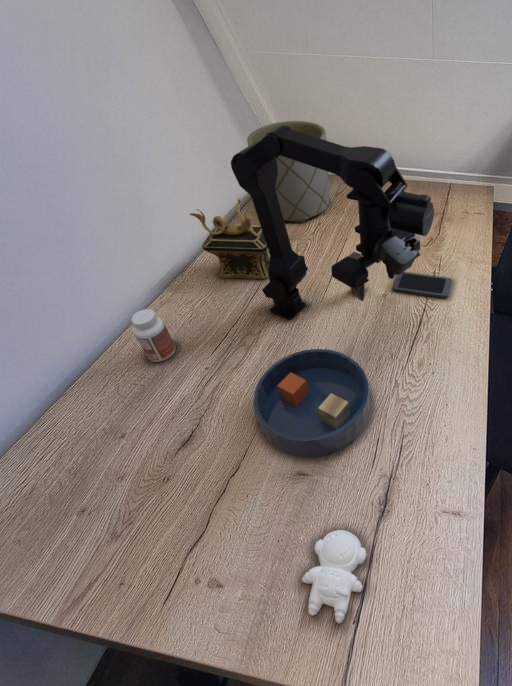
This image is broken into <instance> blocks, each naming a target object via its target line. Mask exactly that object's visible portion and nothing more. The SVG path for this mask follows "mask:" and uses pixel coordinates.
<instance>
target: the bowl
mask: <svg viewBox="0 0 512 686" xmlns="http://www.w3.org/2000/svg"><path fill="white" fill-rule="evenodd" d="M290 372H291V373H293V374H295V375H297V376H299V377H301V378H303V379H305V380H306V382H307V387H308V391H309V393H308V394H307V396H306V397H305V398H304V399H303V400H302V401H301V402H300V403H299V404H298V405H297V406H294V405H292V404H290V403H288V402H287V401H285V400H283V399H281V397H280V393H279V390H278V384H279V383H280V382H281V381H282V380H283V379H284V378H285V377H286V376H287V375H288V374H289V373H290ZM369 387H370V386H369V380H368V377H367V375H366V373H365V371H364V369H363V368H362V367H361V366H360V364H359V363H358V362H357V361H355V360H354V359H353V358H351V356H349V355H347V354H344V353H342V352H340V351H335V350H332V349H326V348H323V349H322V348H311V349H304V350H300V351H297V352H293V353H290V354H289V355H286V356H285V357H282V358H280V359H279V360H277V361H276V362H274V363H273V364H271V366H270V367H268V369H267V370H266V371H264V373H263V375H262V376H261V377H260V378H259V380H258V381H257V385H256V387H255V390H254V393H253V407H254V414H255V416H256V418H257V421H258V424H259V427H260V429H261V431H262V433H263V435H264V437H265V438H266V440H267V442H269V443H270V444H271V446H273V447H274V448H275V449H277V450H279V451H280V452H281V453H284V454H287V455H289V456H293V457H297V458H306V459H307V458H308V459H309V458H319V457H324V456H328V455H331V454H333V453H336V452H339V451H340V450H342V449H344V448H345V447H347V446H349V445H350V444H352V443H353V441H355V440H356V438H357V437H358V436H359V435H360V434H361V433H362V431H363V429H364V428H365V426H366V425H367V423H368V421H369V420H368V419H369V416H370V411H371V410H370V409H371V401H370V399H371V398H370V388H369ZM331 393H332V394H334V395H336V396H338V397H340V398H342V399H344V400H345V401H347V402H348V403H349V411H350V415H349V416H348V418H347V419H346V420H345V421H344V423H343V424H342V425H341V426H340V428H338V429H335V428H333V427H331V426H330V425H328V424H326V423H324V422H322V421H321V419H320V414H319V409H318V408H319V406H320V405H321V404H322V403H323V402H324V401H325V400H326V398H327V397H328V396H329V395H330V394H331Z"/></svg>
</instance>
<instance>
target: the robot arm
mask: <svg viewBox="0 0 512 686" xmlns="http://www.w3.org/2000/svg"><path fill="white" fill-rule="evenodd" d="M278 156H283V157H286V158H289V159H292V160H295V161H298V162H301V163H304V164H307V165H309V166H312V167H315V168H318V169H321V170H324V171H327V172H328V173H330V174H332V175H336V176H337V177H339V178H340V179H341V180H342V181H343V182H344V184H345V185H347V187H350V188H351V190H350V191H349V192H348V193H347V194H346V199H348V200H353V201H357V205H358V224H357V225H355V226H354V233H356V234H359V243H358V244H356V245H355V251H357V252H358V253H359V254H361V255H362V257H361V258H359V259H358V260H356V261H355V260H354V259H352V258H350V257H348V256H349V255H348V256H344V258H342V259H341V260H338V261H337V262H336V263H334V264H333V265H331V268H330V269H331V277H332V278H334V279H335V280H336V281H339V282H340V283H342V284H343V285H346V286H347V287H349V288H350V289H351V288H352V290H353V291H354V293H355V294H354V293H353V294H354V295H355V296H356V298H357V299H358V300H359V301H361V302H363V301H364V300H365V284H367V283H368V282H369V281H370V279H368V277H369V270H368V268H370V267H372V266H373V265H375V264H379V263H381V262H382V263H383V265H385V270H386V273H387V277H388V279H390V280H394V278H395V276H397V275H400V274H402V273H403V272H406V271H407V270H408V269H410V268H411V267H412V266H413V264H414V262H415V260H416V259H417V258H419V257H420V256H421V253H420V250H421V240H420V238H419V237H418V236H417V235H419V236H423V237H426V236H427V235H428V234H429V232H430V231H431V228H432V225H433V221H434V217H435V208H434V202H432V199H431V198H432V197H431V195H430V194H429V195H428V194H419V193H418V194H417V193H413V192H407V191H405V190H406V189H407V188H408V183H407V182H406V180H405V179H404V177H403V175H402V174H401V172H400V171H399V169H398V167H397V166H396V164H395V160H394V158H393V156H392V154H391V153H390V152H389V150H386V149H385V148H383V147H382V148H381V147H374V146H366V145H363V146H351V147H350V146H344V145H341V144H338V143H335V142H332V141H329V140H327V139H326V140H323V139H320V138H317V137H314V136H310V135H307V134H304V133H301V132H298V131H295V130H292V129H291V128H290V127H288V126H282V125H281V126H278V127H277V128H275V129H273V130H272V131H270V132H269V133H267V134H266V135H265V137H264V138H263V139H262V140H261V141H258V142H254V143H253V144H251V145H250V146H248V145H247V146H246V147H245V148H243V149H242V150H240V151H239V152H237V153H235V154H234V155H233V156H232V158H231V160H230V167H231V170H232V172H233V175H234V177H235V179H236V181H237V184H238V186H239V187H240V188H242V189H243V190H244V192H246V193H247V194H248V195H250V198H251V200H252V203H253V207H254V209H255V213H256V216H257V219H258V223H259V226H261V229H262V232H263V235H264V238H265V241H266V244H267V247H268V248H267V252H268V255H269V257H270V262H269V267H268V274H269V275H268V280H269V282H268V283H267V284H266V285H265V286H264V287H263V288H262V290H261V291H262V293H263V295H264V296H265V298H267V299H272V302H273V306H272V307H271V308H270V309H269V311H270V312H271V313H272V314H275V315H276V316H279V317H281V318H283V319H285V320H287V321H291V320H292V319H293V318H295V317H296V316H297V315H298V314H300V312H301V311H302V310H303V309H305V308H306V307H307V303H306V302H304V301H302V296H301V294H300V289H299V288H298V287H297V286H298V285H299V284H300V283H301V282H302V281H303V280H304V278H306V276H307V271H308V270H309V268H308V266H307V264H306V258H305V256H304V255H299V254H298V253H296V251H294V250H293V248H292V244H291V242H290V237H289V234H288V230H287V226H286V223H285V220H284V219H283V215H282V212H281V208H280V205H279V201H278V198H277V194H276V190H275V187H276V181H277V175H278V169H277V160H276V158H277V157H278ZM388 182H389V183H390V185H389V186H388V187H387V188H386V190H385V191H384V190H383V188H384V187H385V185H387V184H388Z"/></svg>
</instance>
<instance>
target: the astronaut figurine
mask: <svg viewBox="0 0 512 686" xmlns="http://www.w3.org/2000/svg"><path fill="white" fill-rule="evenodd" d="M314 553H315V555H317V559H318V561H319V565H317V566H314V567H312V568H309V569H308V571H306V572H305V573H304V575H303V576H302V578H301V581H302V582H303V584H307V585H312V586H311V589H310V594H309V598H308V606H307V607H308V608H307V609H308V610H307V611H308V614H309V615H310V616H316V615H317V614H318V612H319V611H320V610H321V608H322V607H323V605H326V606H328V607H333V612H334V618H335V622H336V623H337V624H343V622H344V621H345V617H346V616H347V613H348V609H349V604H350V601H351V596H352V595H351V594H352V592H354V593H361V592H362V591H363V589H364V587H363V585H362V582H361V580H359V579H358V577H357V576H356V575H354V574H353V572H354V571H355V570H356V569H357V568H358V566H359V565H362V564H364V562H365V561H366V558H367V550H366V549H365V547H363V546H362V543H361V541H360V540H359V538H358V537H357V536H356V535H355V534H354V533H351V532H350V531H347V530H344V529H337V530H332V531H331V532H329V533H327V534H326V535H325V536H324V537H323V539H322V538H319V539H318V540H317V541H316V542H315V545H314Z"/></svg>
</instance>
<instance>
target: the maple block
mask: <svg viewBox="0 0 512 686" xmlns="http://www.w3.org/2000/svg"><path fill="white" fill-rule="evenodd" d="M318 409H319V414H320V419H321V421H322V422H324V423H326V424H328V425H330V426H331V427H333V428H335V429H338V428H340V426H341V425H342V424H343V423H344V421H345V420H346V419H347V418H348V416H349V415H350V411H349V403H348V402H347V401H345V400H344V399H342V398H340V397H338V396H336V395H334V394H332V393H331V394H330V395H329V396H328V397H327V398H326V400H325V401H324V402H323V403H322V404H321V405H320V406H319V408H318Z"/></svg>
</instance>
